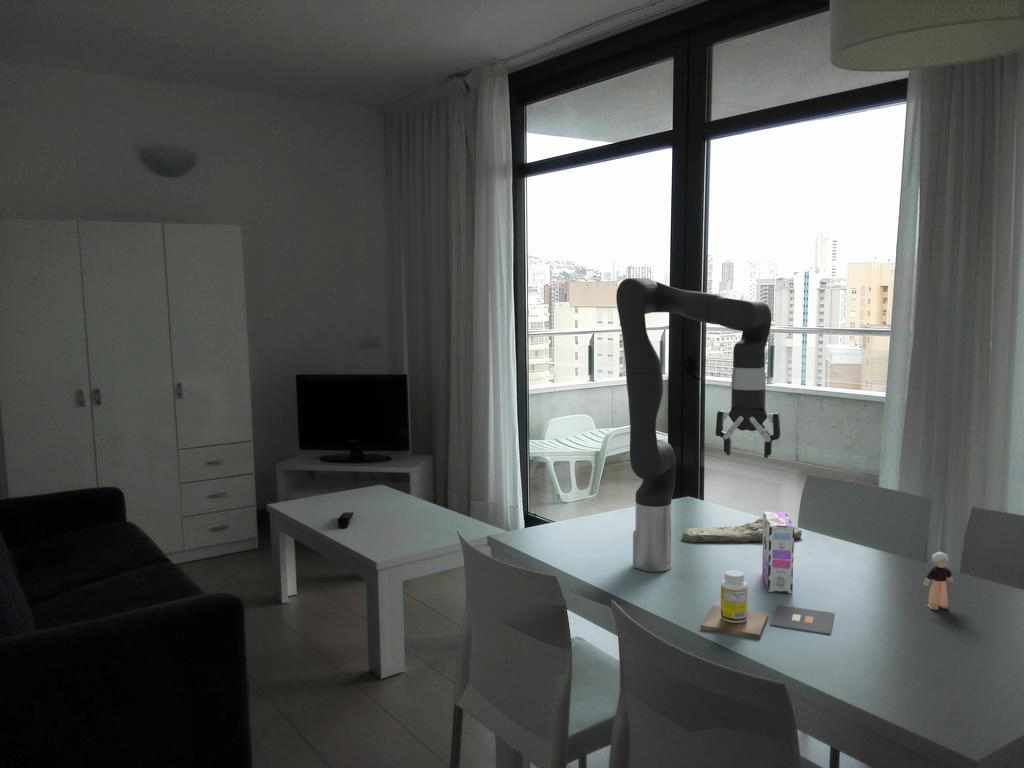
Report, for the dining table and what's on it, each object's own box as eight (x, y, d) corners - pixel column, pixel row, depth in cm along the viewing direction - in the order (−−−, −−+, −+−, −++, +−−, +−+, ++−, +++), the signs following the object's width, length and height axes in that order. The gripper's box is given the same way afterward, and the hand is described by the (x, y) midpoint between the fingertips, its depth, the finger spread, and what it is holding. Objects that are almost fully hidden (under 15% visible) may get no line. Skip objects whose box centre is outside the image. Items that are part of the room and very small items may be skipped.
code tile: (770, 625, 169) (770, 624, 169) (777, 605, 180) (777, 604, 180) (830, 635, 164) (830, 633, 164) (834, 614, 175) (834, 612, 175)
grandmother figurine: (935, 612, 175) (938, 557, 174) (919, 607, 178) (922, 552, 177) (957, 606, 178) (960, 551, 177) (941, 600, 182) (943, 547, 181)
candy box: (793, 594, 187) (795, 526, 185) (767, 593, 188) (768, 525, 186) (785, 574, 200) (787, 511, 199) (761, 573, 202) (762, 510, 200)
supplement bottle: (727, 612, 174) (728, 566, 173) (751, 618, 171) (752, 572, 170) (715, 620, 170) (716, 573, 169) (740, 626, 166) (741, 579, 165)
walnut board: (700, 629, 168) (700, 625, 168) (712, 609, 178) (712, 605, 178) (759, 639, 162) (759, 634, 162) (767, 618, 173) (767, 613, 173)
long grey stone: (678, 539, 236) (686, 552, 226) (677, 523, 235) (686, 534, 226) (793, 530, 237) (807, 542, 227) (793, 514, 236) (807, 525, 227)
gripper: (782, 386, 183) (781, 455, 185) (720, 384, 189) (719, 451, 191) (778, 389, 176) (777, 461, 178) (713, 387, 183) (713, 456, 184)
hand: (747, 456), depth 185 cm, fingers open, 8 cm apart
